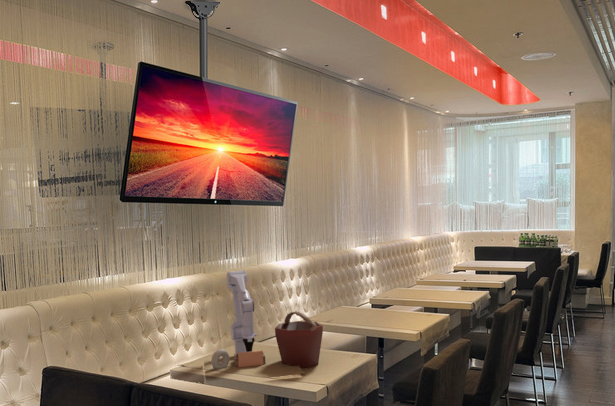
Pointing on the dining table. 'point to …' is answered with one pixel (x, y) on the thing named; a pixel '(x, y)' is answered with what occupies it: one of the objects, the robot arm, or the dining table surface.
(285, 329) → the bucket
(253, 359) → the block
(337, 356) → the dining table surface
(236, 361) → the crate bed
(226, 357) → the donut
